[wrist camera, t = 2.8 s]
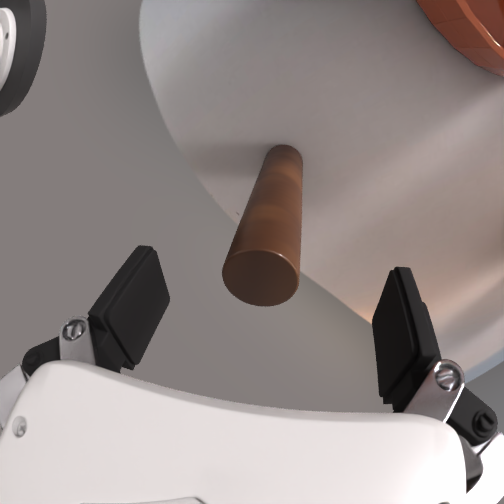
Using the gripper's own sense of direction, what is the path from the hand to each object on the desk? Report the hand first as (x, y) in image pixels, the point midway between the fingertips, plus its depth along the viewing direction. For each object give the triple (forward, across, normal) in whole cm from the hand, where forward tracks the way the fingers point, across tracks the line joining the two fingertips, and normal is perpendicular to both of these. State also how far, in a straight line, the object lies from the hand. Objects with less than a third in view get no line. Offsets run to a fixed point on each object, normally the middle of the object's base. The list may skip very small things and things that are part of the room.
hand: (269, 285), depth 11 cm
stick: (+14, +1, 0) cm, 14 cm away
